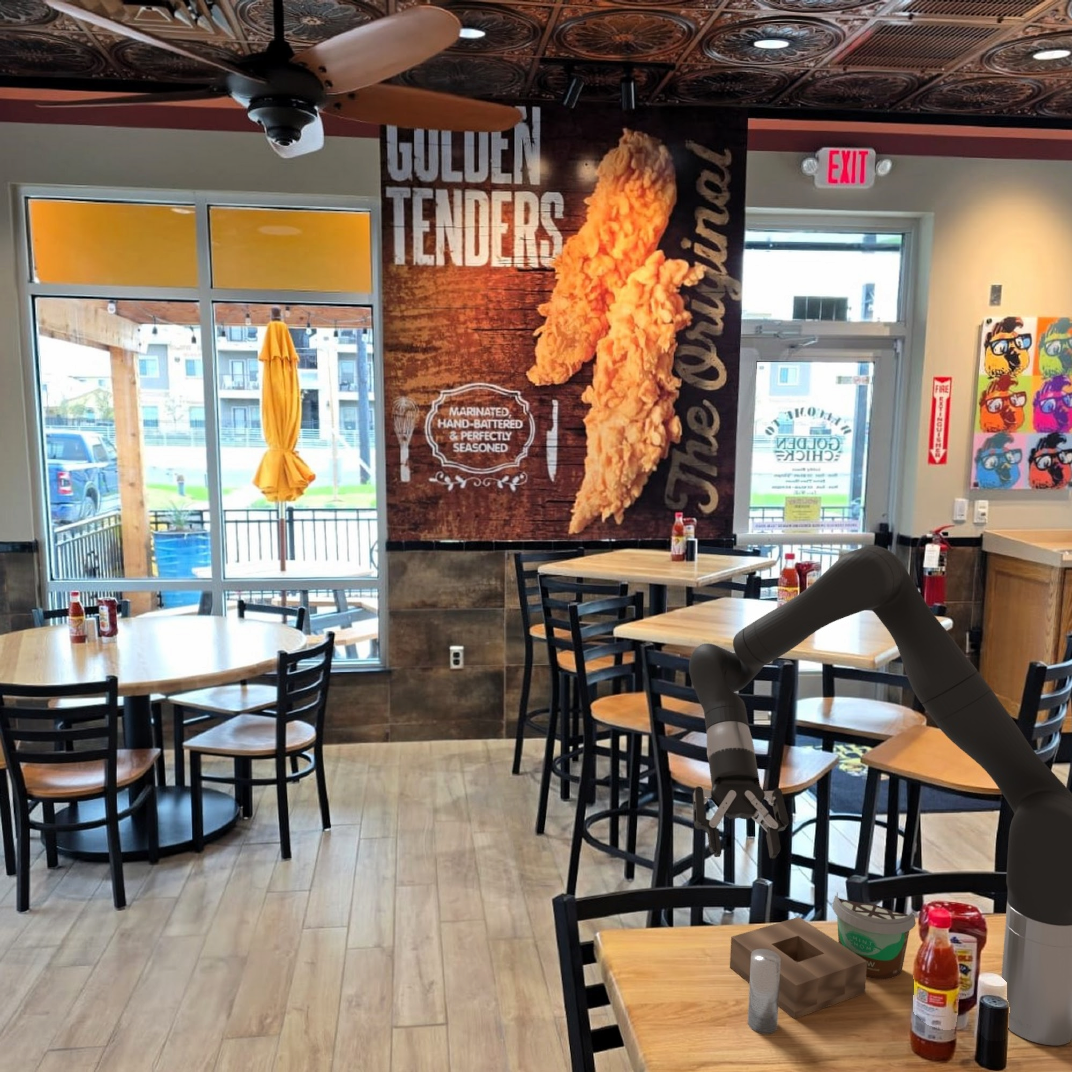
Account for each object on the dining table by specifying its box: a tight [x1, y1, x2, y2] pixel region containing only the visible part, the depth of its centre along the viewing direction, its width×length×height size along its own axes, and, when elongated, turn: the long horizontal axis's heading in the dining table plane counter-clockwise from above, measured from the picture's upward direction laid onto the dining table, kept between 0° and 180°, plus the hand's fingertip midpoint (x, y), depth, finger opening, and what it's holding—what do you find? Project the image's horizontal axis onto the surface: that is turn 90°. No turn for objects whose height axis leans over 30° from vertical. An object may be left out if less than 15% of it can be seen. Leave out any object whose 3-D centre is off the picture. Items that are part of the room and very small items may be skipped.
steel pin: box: [747, 949, 781, 1035], centre depth 125 cm, size 4×4×10 cm
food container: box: [832, 891, 917, 980], centre depth 138 cm, size 12×6×10 cm, turn 62°
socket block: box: [729, 916, 867, 1020], centre depth 136 cm, size 14×14×5 cm
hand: (746, 856), depth 135 cm, fingers open, 8 cm apart
